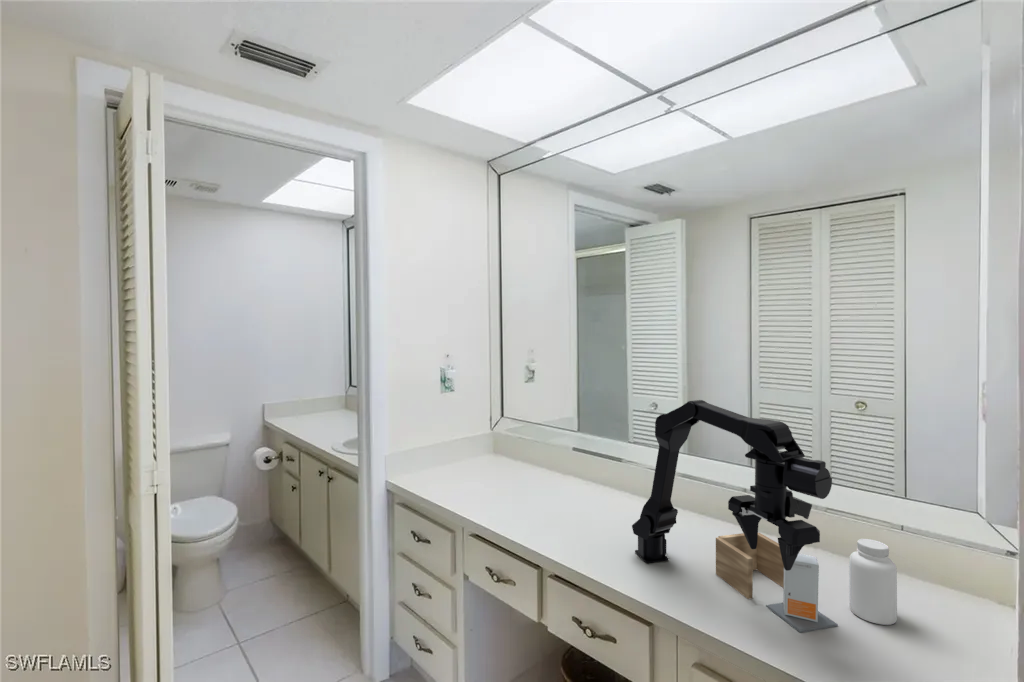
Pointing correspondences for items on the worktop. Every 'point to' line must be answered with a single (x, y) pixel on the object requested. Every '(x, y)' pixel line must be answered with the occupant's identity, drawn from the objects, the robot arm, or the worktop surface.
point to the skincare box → (802, 588)
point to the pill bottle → (873, 583)
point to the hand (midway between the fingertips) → (769, 558)
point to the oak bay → (747, 561)
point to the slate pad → (799, 623)
